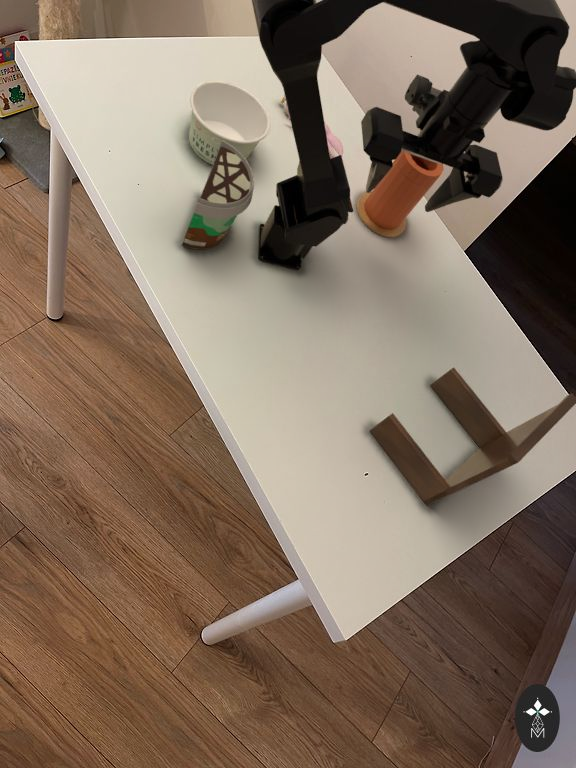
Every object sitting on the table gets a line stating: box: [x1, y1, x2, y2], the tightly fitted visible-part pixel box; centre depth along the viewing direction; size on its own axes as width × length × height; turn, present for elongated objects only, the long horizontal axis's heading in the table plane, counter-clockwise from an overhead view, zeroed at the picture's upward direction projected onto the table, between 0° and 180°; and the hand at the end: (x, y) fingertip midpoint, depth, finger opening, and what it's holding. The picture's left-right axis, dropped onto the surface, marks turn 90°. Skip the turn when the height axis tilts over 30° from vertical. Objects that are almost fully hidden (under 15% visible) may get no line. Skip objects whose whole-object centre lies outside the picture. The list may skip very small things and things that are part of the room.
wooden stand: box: [369, 367, 576, 506], centre depth 74 cm, size 12×15×17 cm
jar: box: [365, 151, 444, 229], centre depth 93 cm, size 7×7×12 cm
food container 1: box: [188, 80, 271, 166], centre depth 88 cm, size 12×12×6 cm
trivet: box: [356, 191, 407, 238], centre depth 98 cm, size 9×9×1 cm
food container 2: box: [181, 140, 255, 250], centre depth 79 cm, size 12×6×10 cm, turn 168°
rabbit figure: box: [279, 94, 344, 158], centre depth 98 cm, size 6×6×15 cm
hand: (397, 199), depth 80 cm, fingers open, 9 cm apart
